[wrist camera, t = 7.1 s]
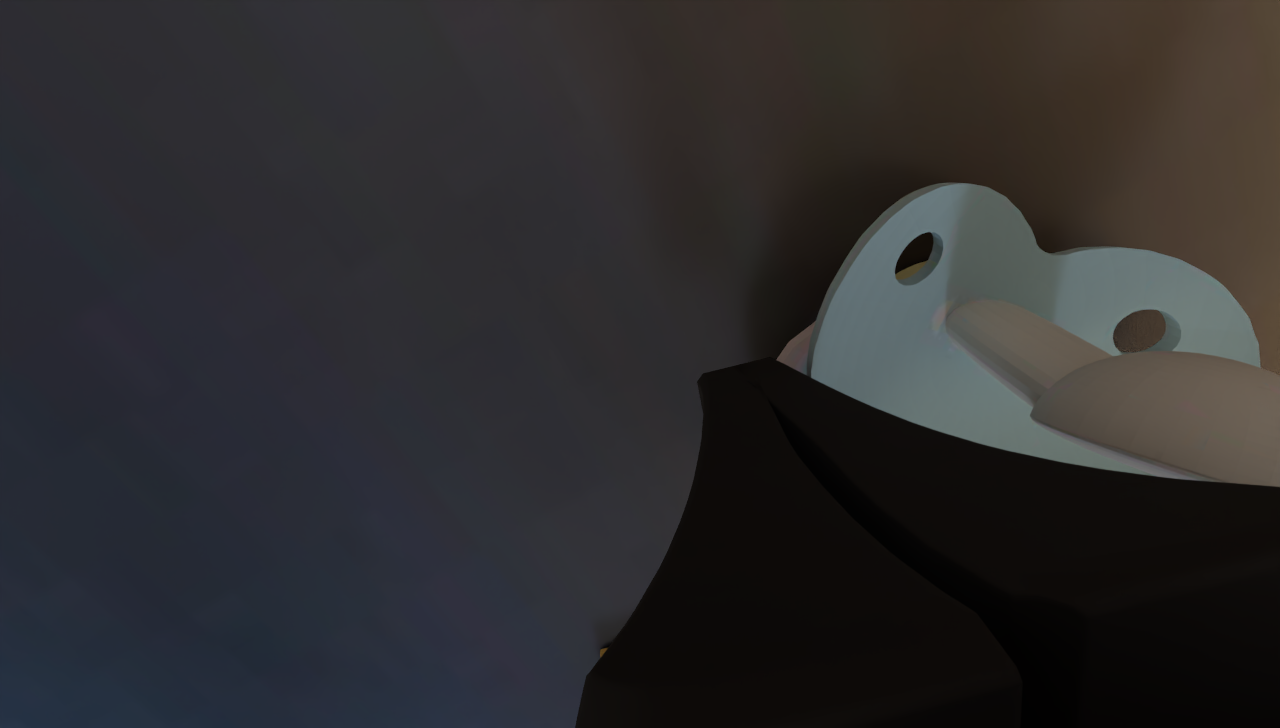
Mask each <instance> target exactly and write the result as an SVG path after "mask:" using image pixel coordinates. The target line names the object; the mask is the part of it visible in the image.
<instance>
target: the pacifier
mask: <svg viewBox="0 0 1280 728" xmlns="http://www.w3.org/2000/svg"><path fill="white" fill-rule="evenodd" d="M927 232H931V233H932V235H933V241H934V243H933V249H932V252H931V254H930V257H929V259H928V260H927V261H925V262H921V263H918V264H915V265H913V266H910V267H908V268H906V269H904V270H902V271H900V272H898V273H897V274H896V275H895V268H896V263H897V261H898V259H899V257H900V255H901V253H902V252H903V250H904V249H905V247H906V246H907V245H908V244H909V243H910V242H911V241H912V240H913V239H915V238H916V237H918V236H919V235H920V234H923V233H927ZM1147 309H1155V310H1159V312H1160V313H1161V314H1162V315H1163V316H1164V319H1165V322H1166V331H1165V333H1164V335H1163V337H1162V339H1161V340H1160V341H1159V342H1157V343H1156V344H1155V345H1154V346H1152V347H1150V348H1148V349H1146V350H1143V351H1139V352H1121V351H1119V350H1118V349H1117V348H1116V347H1115V345H1114V342H1113V331H1114V329H1115V327H1116V326H1117V324H1118V323H1119V322H1120V321H1121V320H1122V319H1123V318H1124V317H1126V316H1128V315H1129V314H1131V313H1133V312H1136V311H1140V310H1147ZM777 361H780V362H782V363H784V364H786V365H788V366H789V367H791V368H793V369H795V370H797V371H799V372H801V373H803V374H805V375H807V376H809V377H811V378H813V379H815V380H817V381H819V382H821V383H823V384H825V385H827V386H829V387H831V388H833V389H835V390H837V391H839V392H841V393H843V394H846V395H848V396H850V397H852V398H854V399H856V400H859V401H861V402H863V403H866V404H868V405H870V406H872V407H875V408H877V409H880V410H882V411H885V412H887V413H890V414H892V415H895V416H897V417H900V418H902V419H905V420H908V421H910V422H913V423H916V424H918V425H921V426H924V427H927V428H930V429H933V430H936V431H939V432H943V433H946V434H949V435H953V436H956V437H959V438H963V439H966V440H969V441H973V442H976V443H980V444H983V445H987V446H991V447H995V448H999V449H1003V450H1007V451H1012V452H1017V453H1021V454H1026V455H1031V456H1035V457H1040V458H1045V459H1049V460H1054V461H1059V462H1064V463H1070V464H1076V465H1082V466H1088V467H1094V468H1099V469H1106V470H1113V471H1121V472H1128V473H1136V474H1143V475H1151V476H1158V477H1166V478H1175V479H1185V480H1198V481H1211V482H1224V483H1237V484H1250V485H1263V486H1276V487H1280V375H1278V374H1275V373H1273V372H1270V371H1268V370H1265V369H1262V368H1260V355H1259V343H1258V341H1257V339H1256V336H1255V334H1254V331H1253V328H1252V324H1251V321H1250V318H1249V317H1248V316H1247V314H1246V313H1245V312H1244V310H1243V309H1242V307H1241V306H1240V305H1239V303H1238V302H1237V301H1236V299H1235V298H1234V297H1233V296H1232V295H1231V293H1230V292H1229V291H1228V290H1227V289H1226V288H1225V287H1224V286H1223V285H1222V284H1221V283H1220V282H1219V281H1217V280H1216V279H1214V278H1213V277H1211V276H1210V275H1208V274H1207V273H1205V272H1203V271H1201V270H1199V269H1198V268H1196V267H1194V266H1192V265H1190V264H1188V263H1186V262H1184V261H1182V260H1180V259H1177V258H1174V257H1170V256H1167V255H1163V254H1160V253H1156V252H1153V251H1149V250H1141V249H1132V248H1123V247H1114V246H1103V247H1079V248H1074V249H1069V250H1065V251H1060V252H1055V253H1050V254H1049V253H1047V252H1044V251H1043V250H1041V249H1040V248H1039V247H1038V245H1037V243H1036V239H1035V237H1034V234H1033V231H1032V229H1031V227H1030V226H1029V224H1028V223H1027V221H1026V220H1025V218H1024V216H1023V215H1022V213H1021V211H1020V210H1019V209H1018V208H1016V207H1015V206H1014V205H1013V204H1012V203H1011V202H1010V201H1009V200H1008V198H1007V197H1005V196H1003V195H1001V194H1000V193H998V192H996V191H994V190H992V189H991V188H989V187H985V186H980V185H975V184H968V183H938V184H934V185H930V186H927V187H924V188H921V189H918V190H916V191H914V192H912V193H910V194H908V195H906V196H905V197H903V198H901V199H900V200H898V201H897V202H896V203H894V204H893V205H892V206H890V207H889V208H888V209H887V210H886V211H884V212H883V213H882V214H881V215H880V216H879V217H878V218H877V219H876V221H875V222H874V223H873V224H872V225H871V226H870V227H869V228H868V229H867V230H866V231H865V232H864V233H863V234H862V235H861V237H860V238H859V239H858V241H857V242H856V244H855V245H854V247H853V248H852V250H851V251H850V253H849V254H848V256H847V257H846V259H845V260H844V262H843V264H842V266H841V267H840V269H839V271H838V272H837V274H836V276H835V278H834V279H833V281H832V283H831V284H830V286H829V288H828V291H827V293H826V295H825V298H824V300H823V303H822V305H821V308H820V310H819V313H818V316H817V319H816V321H815V322H814V323H812V324H811V325H810V326H809V327H807V328H806V329H805V330H803V331H802V332H801V333H799V334H798V335H797V336H796V337H794V338H793V339H792V340H790V341H789V342H788V344H787V345H786V346H785V348H784V349H783V351H782V352H781V354H780V355H779V357H778V358H777Z"/></svg>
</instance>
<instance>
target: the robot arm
mask: <svg viewBox="0 0 1280 728" xmlns="http://www.w3.org/2000/svg"><path fill="white" fill-rule="evenodd" d="M697 383H698V388H699V393H700V398H701V404H702V409H703V427H702V439H701V446H700V452H699V457H698V462H697V466H696V471H695V476H694V480H693V484H692V487H691V491H690V494H689V498H688V501H687V504H686V507H685V510H684V513H683V515H682V518H681V521H680V523H679V526H678V528H677V530H676V533H675V535H674V538H673V540H672V542H671V545H670V547H669V549H668V551H667V553H666V556H665V558H664V560H663V562H662V564H661V566H660V568H659V569H658V571H657V573H656V575H655V576H654V578H653V580H652V582H651V583H650V585H649V587H648V588H647V590H646V592H645V594H644V595H643V597H642V599H641V600H640V602H639V604H638V606H637V607H636V609H635V611H634V612H633V614H632V615H631V617H630V618H629V620H628V621H627V623H626V624H625V626H624V627H623V628H622V630H621V631H620V632H619V634H618V635H617V636H616V638H615V639H614V640H613V642H612V643H611V644H610V646H609V647H608V649H607V650H606V651H605V653H604V654H603V655H602V657H601V658H600V659H599V661H598V662H597V663H596V665H595V666H594V667H593V669H592V670H591V671H590V672H589V674H588V675H587V676H586V680H585V684H584V688H583V693H582V698H581V702H580V707H579V712H578V716H577V721H576V727H575V728H1280V487H1276V486H1263V485H1250V484H1237V483H1224V482H1211V481H1198V480H1185V479H1175V478H1166V477H1158V476H1151V475H1143V474H1136V473H1128V472H1121V471H1113V470H1106V469H1099V468H1094V467H1088V466H1082V465H1076V464H1070V463H1064V462H1059V461H1054V460H1049V459H1045V458H1040V457H1035V456H1031V455H1026V454H1021V453H1017V452H1012V451H1007V450H1003V449H999V448H995V447H991V446H987V445H983V444H980V443H976V442H973V441H969V440H966V439H963V438H959V437H956V436H953V435H949V434H946V433H943V432H939V431H936V430H933V429H930V428H927V427H924V426H921V425H918V424H916V423H913V422H910V421H908V420H905V419H902V418H900V417H897V416H895V415H892V414H890V413H887V412H885V411H882V410H880V409H877V408H875V407H872V406H870V405H868V404H866V403H863V402H861V401H859V400H856V399H854V398H852V397H850V396H848V395H846V394H843V393H841V392H839V391H837V390H835V389H833V388H831V387H829V386H827V385H825V384H823V383H821V382H819V381H817V380H815V379H813V378H811V377H809V376H807V375H805V374H803V373H801V372H799V371H797V370H795V369H793V368H791V367H789V366H788V365H786V364H784V363H782V362H780V361H777V360H775V359H773V358H771V357H768V358H764V359H760V360H756V361H752V362H748V363H744V364H740V365H736V366H732V367H728V368H724V369H720V370H716V371H712V372H708V373H704V374H703V375H702V376H701V377H700V379H699V380H698V381H697Z"/></svg>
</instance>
